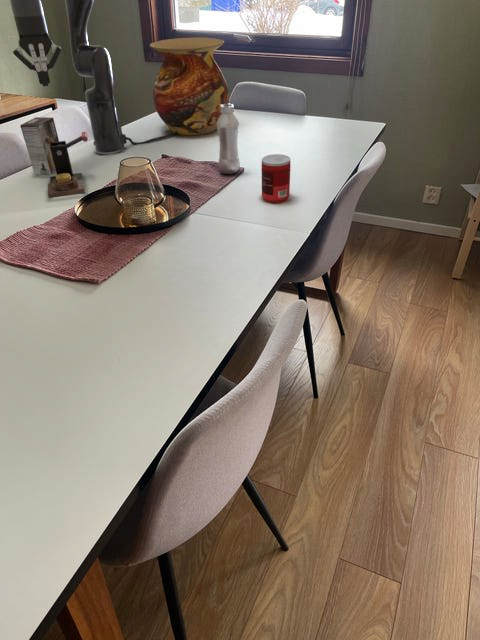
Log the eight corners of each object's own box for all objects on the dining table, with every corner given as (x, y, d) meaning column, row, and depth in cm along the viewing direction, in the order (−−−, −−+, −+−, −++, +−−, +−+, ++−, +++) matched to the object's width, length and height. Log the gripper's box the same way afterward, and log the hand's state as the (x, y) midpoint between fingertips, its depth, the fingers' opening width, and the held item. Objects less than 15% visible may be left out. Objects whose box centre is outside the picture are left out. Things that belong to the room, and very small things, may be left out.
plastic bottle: (218, 169, 159) (214, 103, 147) (239, 168, 159) (237, 102, 147) (219, 177, 154) (215, 108, 142) (241, 175, 154) (239, 107, 142)
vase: (189, 115, 214) (183, 35, 196) (244, 124, 200) (242, 39, 182) (142, 132, 195) (129, 45, 177) (198, 144, 181) (191, 51, 163)
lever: (88, 136, 150) (84, 129, 149) (89, 141, 146) (85, 134, 145) (57, 153, 150) (52, 146, 149) (57, 158, 146) (52, 151, 145)
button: (71, 178, 146) (70, 172, 145) (71, 183, 143) (70, 177, 142) (57, 180, 145) (55, 174, 144) (57, 184, 142) (55, 178, 141)
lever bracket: (82, 176, 158) (74, 138, 151) (83, 185, 151) (74, 145, 144) (51, 180, 156) (41, 141, 149) (50, 189, 149) (40, 149, 142)
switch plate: (84, 186, 151) (81, 173, 148) (85, 196, 144) (82, 182, 142) (49, 190, 148) (46, 177, 146) (49, 200, 142) (45, 187, 140)
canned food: (292, 193, 141) (293, 155, 135) (285, 205, 135) (286, 164, 129) (266, 191, 143) (266, 152, 137) (258, 202, 137) (257, 162, 131)
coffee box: (48, 167, 165) (35, 116, 156) (66, 168, 164) (54, 117, 155) (34, 177, 158) (19, 124, 149) (52, 178, 157) (38, 125, 148)
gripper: (0, 16, 125) (20, 90, 136) (54, 13, 128) (70, 86, 139) (2, 14, 131) (21, 85, 142) (54, 11, 134) (69, 81, 144)
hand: (45, 85), depth 140 cm, fingers closed
